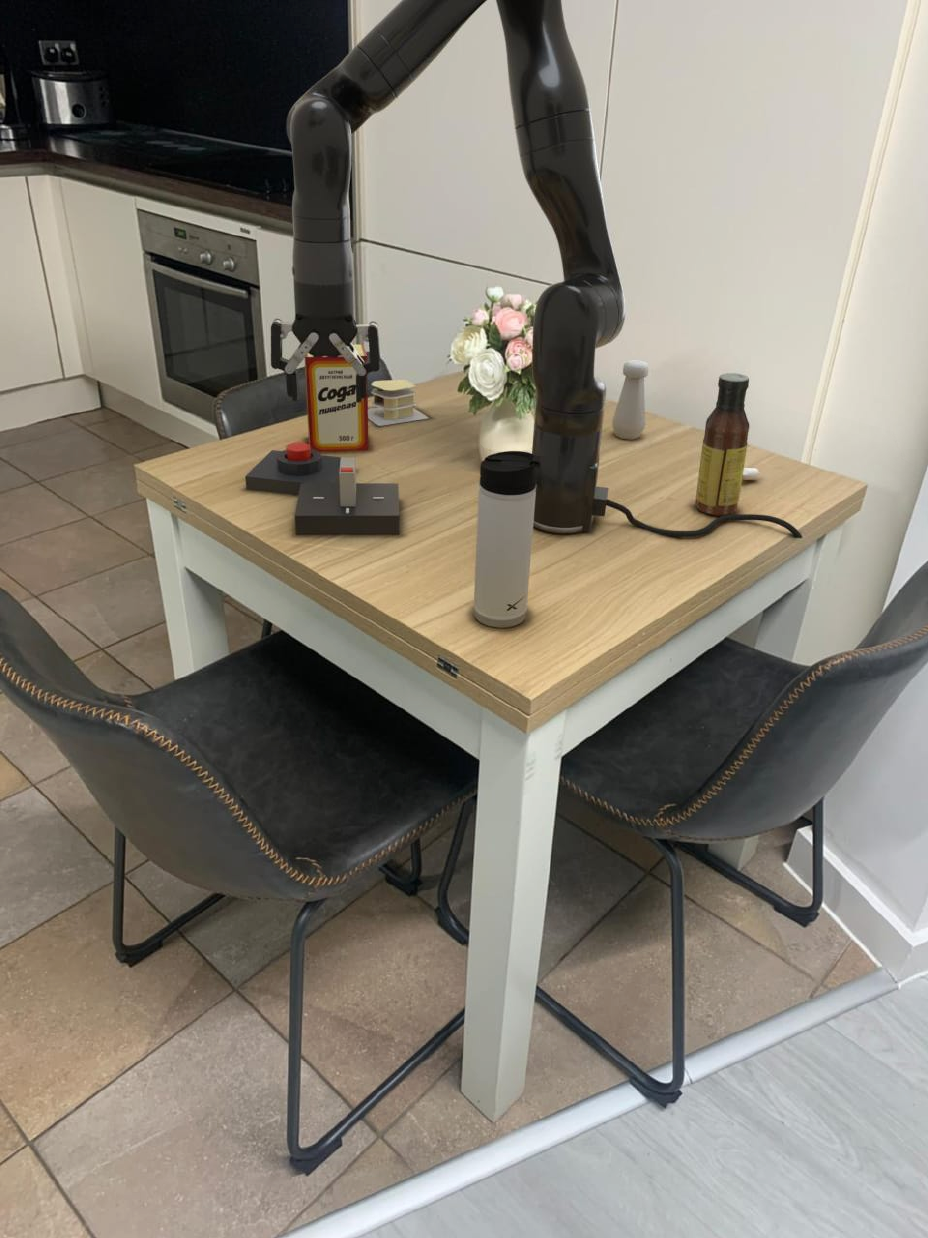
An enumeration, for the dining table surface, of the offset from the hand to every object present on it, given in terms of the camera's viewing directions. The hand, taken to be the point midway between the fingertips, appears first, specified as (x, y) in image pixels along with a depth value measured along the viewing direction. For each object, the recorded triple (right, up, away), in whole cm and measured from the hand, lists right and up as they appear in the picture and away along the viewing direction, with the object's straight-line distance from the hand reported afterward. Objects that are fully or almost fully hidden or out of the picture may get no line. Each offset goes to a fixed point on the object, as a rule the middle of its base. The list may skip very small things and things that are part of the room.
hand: (327, 400), depth 129 cm
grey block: (+2, -13, +3) cm, 14 cm away
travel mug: (+23, -29, -16) cm, 41 cm away
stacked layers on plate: (+6, +7, +43) cm, 44 cm away
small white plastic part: (+63, -8, +22) cm, 67 cm away
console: (+2, -15, +5) cm, 16 cm away
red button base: (-6, -9, +16) cm, 19 cm away
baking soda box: (-2, -1, +29) cm, 29 cm away
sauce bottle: (+56, -14, +12) cm, 58 cm away
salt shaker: (+47, +2, +38) cm, 60 cm away
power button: (-6, -5, +14) cm, 16 cm away
